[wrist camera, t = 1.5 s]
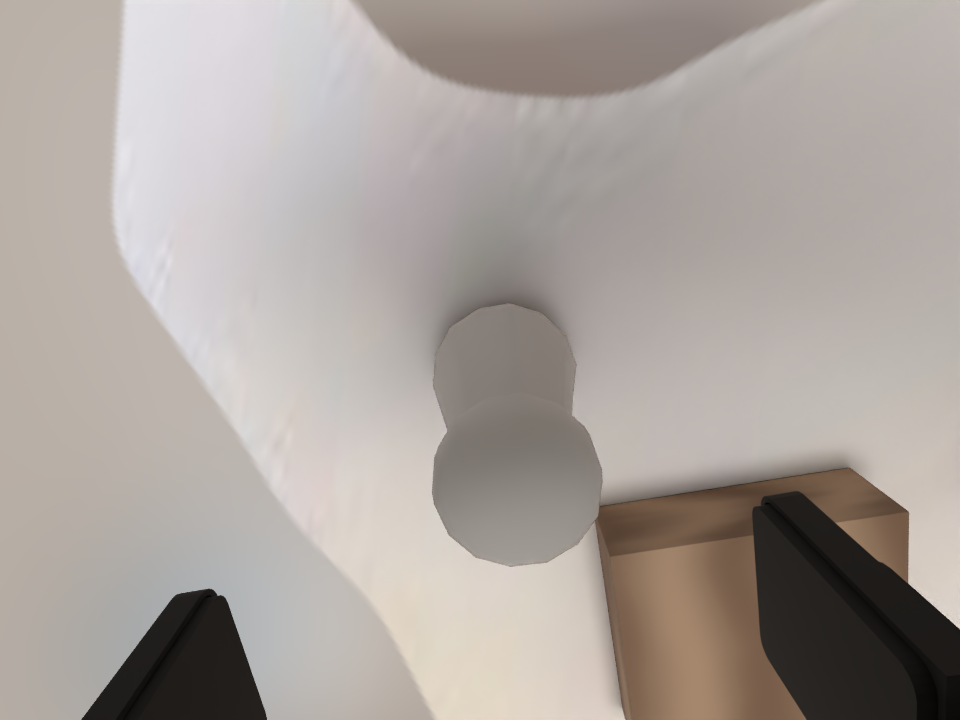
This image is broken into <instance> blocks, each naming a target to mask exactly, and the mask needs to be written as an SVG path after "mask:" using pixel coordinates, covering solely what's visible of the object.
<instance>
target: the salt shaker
mask: <svg viewBox="0 0 960 720" xmlns="http://www.w3.org/2000/svg"><path fill="white" fill-rule="evenodd" d="M575 373H576V362H575V359H574V357H573V354H572V351H571V348H570V346H569V343H568V340H567V337H566V335H565V334H564V333H563V332H562V331H560V330H559V329H558V328H557V327H556V326H555V325H554V324H553V323H552V322H551V321H550V320H549V319H548V318H546V317H545V316H544V315H543V314H542V313H540V312H537V311H534V310H530V309H527V308H524V307H521V306H517V305H514V304H511V303H508V304H502V305H496V306H489V307H483V308H479V309H477V310H476V311H474V312H472V313H471V314H469V315H468V316H466V317H465V318H463V319H462V320H460V321H459V322H457V323H456V324H454V325H453V326H451V327H450V329H449V330H448V332H447V334H446V336H445V338H444V340H443V341H442V343H441V345H440V347H439V349H438V351H437V352H436V354H435V365H434V378H433V387H434V390H435V393H436V397H437V400H438V403H439V406H440V409H441V412H442V415H443V418H444V421H445V424H446V427H447V433H446V435H445V436H444V438H443V440H442V442H441V443H440V445H439V447H438V449H437V452H436V455H435V457H434V471H433V486H432V495H433V500H434V505H435V507H436V509H437V511H438V513H439V515H440V518H441V520H442V522H443V524H444V526H445V528H446V530H447V532H448V534H449V536H450V537H452V538H453V539H454V540H455V541H456V542H458V543H459V544H460V545H461V546H463V547H464V548H465V549H466V550H467V551H469V552H470V553H471V554H472V555H473V556H475V557H476V558H479V559H483V560H487V561H491V562H495V563H499V564H502V565H506V566H510V567H513V566H521V565H529V564H538V563H546V562H549V561H550V560H552V559H554V558H555V557H557V556H559V555H560V554H562V553H564V552H565V551H567V550H569V549H570V548H572V547H574V546H575V545H577V544H578V543H579V542H580V540H581V539H582V538H583V536H584V535H585V533H586V532H587V531H588V529H589V528H590V526H591V525H592V524H593V522H594V521H595V519H596V518H597V517H598V513H599V505H600V497H601V489H602V468H601V465H600V462H599V460H598V457H597V454H596V451H595V448H594V446H593V443H592V440H591V437H590V435H589V433H588V432H587V430H586V428H585V426H583V425H582V424H581V423H580V422H579V421H578V420H577V419H575V418H574V417H573V416H572V403H573V391H574V382H575Z"/></svg>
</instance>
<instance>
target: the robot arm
mask: <svg viewBox="0 0 960 720" xmlns="http://www.w3.org/2000/svg"><path fill="white" fill-rule="evenodd" d="M752 521H753V536H754V551H755V566H756V581H757V596H758V611H759V626H760V638H761V642H762V646H763V649H764V652H765V654H766V656H767V658H768V660H769V662H770V663H771V665H772V666H773V668H774V670H775V671H776V673H777V674H778V676H779V677H780V679H781V681H782V682H783V684H784V685H785V687H786V688H787V690H788V691H789V693H790V695H791V696H792V698H793V699H794V701H795V702H796V704H797V706H798V707H799V709H800V710H801V712H802V713H803V715H804V717H805V718H806V720H960V629H959V628H958V627H956V626H955V625H954V624H953V623H952V622H951V621H950V620H949V619H947V618H946V617H945V616H944V615H943V614H942V613H941V612H940V611H938V610H937V609H936V608H935V607H934V606H933V605H932V604H930V603H929V602H928V601H927V600H926V599H925V598H924V597H923V596H921V595H920V594H919V593H918V592H917V591H916V590H915V589H914V588H912V587H911V586H910V585H909V584H908V583H907V582H906V581H905V580H903V579H902V578H901V577H900V576H899V575H898V574H897V573H896V572H894V571H893V570H892V569H891V568H890V567H888V566H887V565H885V564H884V563H882V562H878V561H877V560H876V559H875V558H874V557H873V556H872V555H871V554H870V553H868V552H867V551H866V550H865V549H864V548H863V547H862V546H861V545H860V544H858V543H857V542H856V541H855V540H854V539H853V538H852V537H851V536H849V535H848V534H847V533H846V532H845V531H844V530H843V529H842V528H841V527H839V526H838V525H837V524H836V523H835V522H834V521H833V520H832V519H831V518H829V517H828V516H827V515H826V514H825V513H824V512H823V511H822V510H821V509H819V508H818V507H817V506H816V505H815V504H814V503H813V502H812V501H810V500H809V499H808V498H807V497H806V496H805V495H804V494H803V493H801V492H799V491H792V492H786V493H780V494H774V495H768V496H764V497H763V498H762V500H761V506H755V507H754V508H753V510H752ZM82 720H267V717H266V713H265V710H264V707H263V704H262V701H261V698H260V695H259V692H258V689H257V686H256V684H255V681H254V678H253V675H252V672H251V669H250V666H249V663H248V661H247V657H246V655H245V652H244V649H243V646H242V643H241V640H240V637H239V634H238V631H237V628H236V626H235V623H234V620H233V617H232V614H231V611H230V608H229V605H228V602H227V601H226V598H225V597H224V596H221V595H220V596H217V594H216V593H215V591H214V590H212V589H205V590H198V591H192V592H187V593H181V594H177V595H175V596H174V597H173V598H172V600H171V601H170V602H169V604H168V605H167V606H166V608H165V609H164V610H163V612H162V613H161V614H160V616H159V617H158V618H157V620H156V621H155V622H154V624H153V625H152V626H151V628H150V629H149V630H148V632H147V633H146V634H145V636H144V637H143V638H142V640H141V641H140V642H139V644H138V645H137V646H136V648H135V649H134V650H133V652H132V653H131V654H130V656H129V657H128V658H127V660H126V661H125V662H124V664H123V665H122V666H121V668H120V669H119V670H118V672H117V673H116V674H115V676H114V677H113V678H112V680H111V681H110V682H109V684H108V685H107V686H106V688H105V689H104V690H103V692H102V693H101V694H100V696H99V697H98V698H97V700H96V701H95V702H94V704H93V705H92V706H91V708H90V709H89V710H88V712H87V713H86V714H85V716H84V717H83V718H82Z"/></svg>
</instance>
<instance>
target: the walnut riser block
mask: <svg viewBox="0 0 960 720" xmlns="http://www.w3.org/2000/svg"><path fill="white" fill-rule="evenodd" d="M792 491H799V492H801V493H803V494H804V495H805V496H806V497H807V498H808V499H809V500H810V501H812V502H813V503H814V504H815V505H816V506H817V507H818V508H819V509H821V510H822V511H823V512H824V513H825V514H826V515H827V516H828V517H829V518H831V519H832V520H833V521H834V522H835V523H836V524H837V525H838V526H839V527H841V528H842V529H843V530H844V531H845V532H846V533H847V534H848V535H849V536H851V537H852V538H853V539H854V540H855V541H856V542H857V543H858V544H860V545H861V546H862V547H863V548H864V549H865V550H866V551H867V552H868V553H870V554H871V555H872V556H873V557H874V558H875V559H876V560H877V561H878V562H882V563H884V564H885V565H887V566H888V567H890V568H891V569H892V570H893V571H894V572H896V573H897V574H898V575H899V576H900V577H901V578H902V579H903V580H905V581H906V582H907V583H908V538H909V512H908V511H907V510H906V509H904V508H903V507H902V506H900V505H899V504H898V503H896V502H895V501H894V500H892V499H891V498H890V497H888V496H887V495H886V494H884V493H883V492H882V491H880V490H879V489H878V488H876V487H875V486H874V485H872V484H871V483H870V482H868V481H867V480H866V479H864V478H863V477H862V476H860V475H859V474H857V473H856V472H855V471H853V470H852V469H851V468H845V469H839V470H833V471H826V472H820V473H813V474H807V475H800V476H794V477H788V478H781V479H775V480H768V481H762V482H756V483H749V484H743V485H736V486H730V487H723V488H717V489H711V490H704V491H698V492H691V493H685V494H678V495H672V496H666V497H659V498H653V499H646V500H640V501H633V502H627V503H621V504H614V505H608V506H601V507H599V513H598V517H597V518H596V519H595V523H596V530H597V536H598V543H599V550H600V557H601V564H602V571H603V578H604V584H605V591H606V598H607V605H608V612H609V619H610V626H611V632H612V639H613V646H614V653H615V660H616V667H617V674H618V680H619V687H620V694H621V701H622V708H623V712H624V716H625V719H626V720H806V718H805V717H804V715H803V713H802V712H801V710H800V709H799V707H798V706H797V704H796V702H795V701H794V699H793V698H792V696H791V695H790V693H789V691H788V690H787V688H786V687H785V685H784V684H783V682H782V681H781V679H780V677H779V676H778V674H777V673H776V671H775V670H774V668H773V666H772V665H771V663H770V662H769V660H768V658H767V656H766V654H765V652H764V649H763V646H762V642H761V638H760V626H759V611H758V596H757V581H756V566H755V551H754V536H753V521H752V510H753V508H754V507H755V506H761V500H762V498H763V497H764V496H768V495H774V494H780V493H786V492H792Z"/></svg>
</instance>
